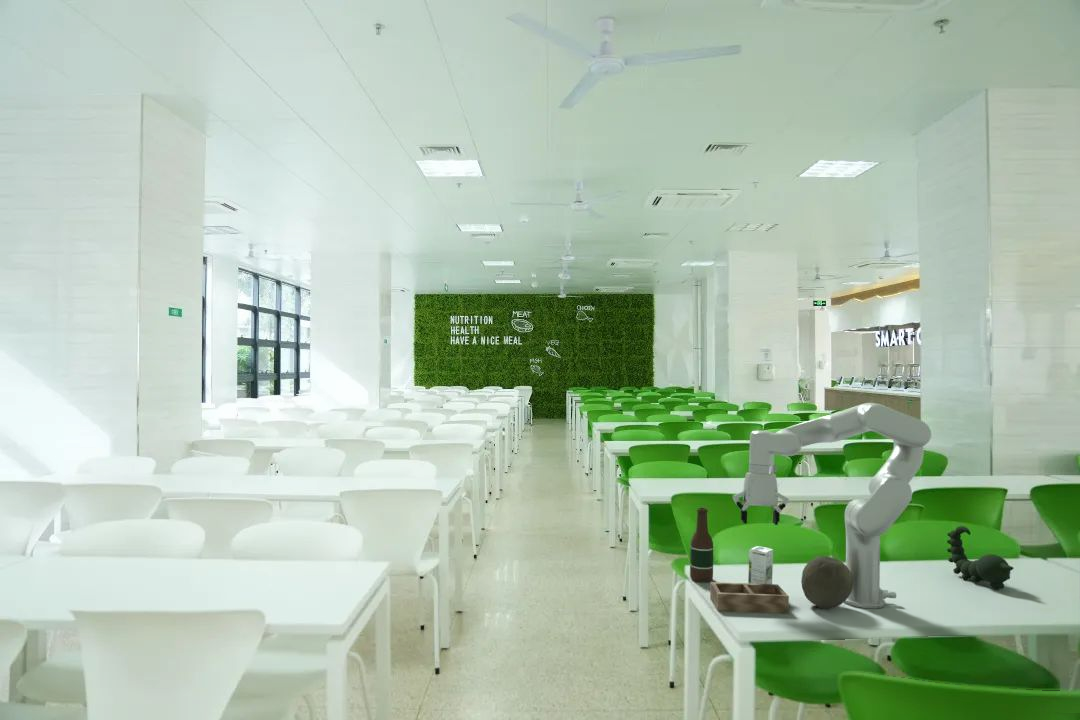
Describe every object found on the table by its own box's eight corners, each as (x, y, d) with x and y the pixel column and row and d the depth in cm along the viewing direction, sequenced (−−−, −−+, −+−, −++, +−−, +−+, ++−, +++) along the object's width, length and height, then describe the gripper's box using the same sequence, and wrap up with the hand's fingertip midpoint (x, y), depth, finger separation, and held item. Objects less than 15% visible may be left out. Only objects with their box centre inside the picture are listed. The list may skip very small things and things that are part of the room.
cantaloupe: (835, 619, 194) (836, 566, 194) (791, 605, 206) (792, 555, 206) (861, 609, 203) (862, 559, 203) (818, 596, 214) (818, 548, 214)
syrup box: (754, 590, 219) (755, 545, 219) (772, 594, 215) (773, 548, 216) (747, 594, 215) (748, 548, 215) (766, 598, 211) (766, 552, 211)
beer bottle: (685, 576, 232) (686, 506, 233) (704, 574, 235) (705, 505, 235) (698, 583, 225) (699, 511, 225) (717, 581, 228) (718, 509, 228)
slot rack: (777, 600, 209) (777, 584, 209) (788, 613, 198) (788, 596, 199) (710, 598, 210) (710, 582, 211) (717, 610, 200) (717, 593, 200)
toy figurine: (942, 578, 241) (1002, 595, 216) (938, 524, 243) (998, 534, 218) (964, 577, 243) (1027, 593, 218) (961, 523, 245) (1023, 533, 220)
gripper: (785, 468, 219) (783, 522, 219) (731, 466, 220) (729, 519, 220) (792, 472, 211) (791, 527, 211) (736, 470, 212) (735, 524, 212)
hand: (759, 523), depth 215 cm, fingers open, 9 cm apart
